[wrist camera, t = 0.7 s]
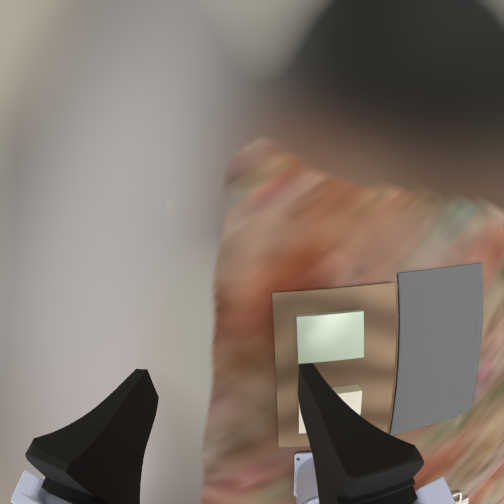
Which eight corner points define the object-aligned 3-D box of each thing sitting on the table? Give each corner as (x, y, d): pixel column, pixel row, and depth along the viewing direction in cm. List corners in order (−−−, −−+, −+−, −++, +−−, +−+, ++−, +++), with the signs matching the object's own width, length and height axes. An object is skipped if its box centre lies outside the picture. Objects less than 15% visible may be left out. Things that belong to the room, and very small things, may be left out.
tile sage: (359, 352, 27) (363, 357, 25) (297, 358, 28) (298, 363, 26) (359, 309, 28) (363, 311, 26) (296, 314, 29) (296, 317, 27)
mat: (468, 409, 25) (470, 410, 24) (389, 434, 27) (390, 435, 26) (479, 263, 27) (481, 262, 27) (397, 273, 29) (398, 273, 29)
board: (383, 429, 27) (386, 435, 26) (279, 441, 29) (278, 447, 27) (390, 282, 29) (394, 282, 28) (272, 292, 31) (271, 292, 29)
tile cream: (355, 419, 26) (359, 427, 25) (298, 425, 27) (298, 433, 25) (358, 384, 27) (362, 390, 25) (298, 390, 28) (298, 397, 26)
